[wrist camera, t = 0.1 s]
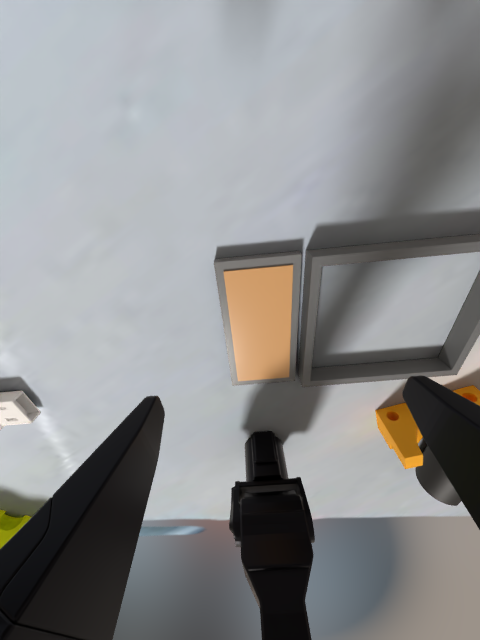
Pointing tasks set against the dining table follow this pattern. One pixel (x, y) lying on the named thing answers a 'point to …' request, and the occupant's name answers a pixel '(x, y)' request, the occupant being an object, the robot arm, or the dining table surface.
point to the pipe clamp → (410, 428)
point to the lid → (260, 315)
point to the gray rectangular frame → (470, 323)
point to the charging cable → (16, 409)
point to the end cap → (436, 480)
